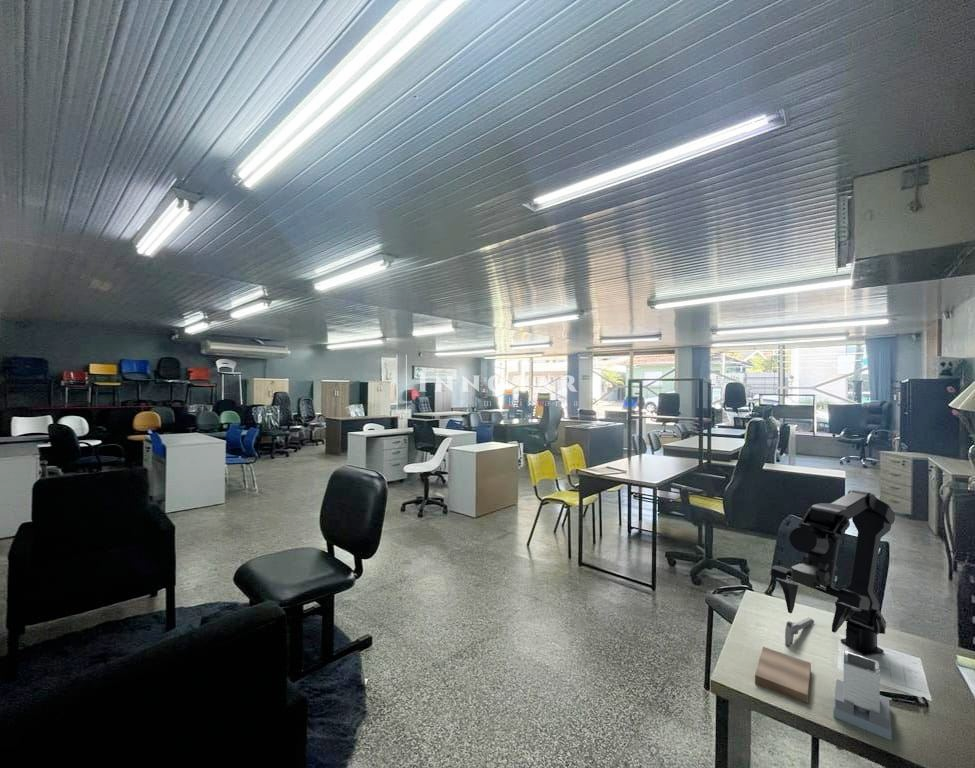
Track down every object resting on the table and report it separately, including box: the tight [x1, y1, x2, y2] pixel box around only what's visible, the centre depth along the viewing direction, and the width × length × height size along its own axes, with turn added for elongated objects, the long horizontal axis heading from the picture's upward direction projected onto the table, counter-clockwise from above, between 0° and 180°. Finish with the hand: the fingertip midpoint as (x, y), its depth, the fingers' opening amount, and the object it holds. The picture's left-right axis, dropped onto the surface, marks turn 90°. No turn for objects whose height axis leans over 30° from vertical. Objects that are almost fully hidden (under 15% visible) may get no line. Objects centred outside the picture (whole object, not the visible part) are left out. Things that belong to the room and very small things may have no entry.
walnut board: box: [754, 646, 812, 704], centre depth 102 cm, size 14×10×2 cm
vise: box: [832, 679, 893, 741], centre depth 91 cm, size 11×9×7 cm
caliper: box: [784, 616, 815, 647], centre depth 120 cm, size 20×1×6 cm, turn 127°
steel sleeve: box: [843, 650, 881, 714], centre depth 89 cm, size 6×6×8 cm
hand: (810, 622), depth 101 cm, fingers open, 9 cm apart
